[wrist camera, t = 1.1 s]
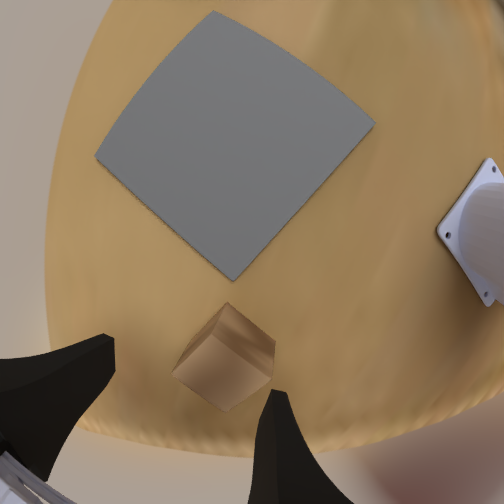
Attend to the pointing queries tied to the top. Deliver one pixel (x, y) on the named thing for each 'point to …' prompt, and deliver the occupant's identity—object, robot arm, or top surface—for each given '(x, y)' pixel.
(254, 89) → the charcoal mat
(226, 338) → the oak cube
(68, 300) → the top surface
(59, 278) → the top surface
